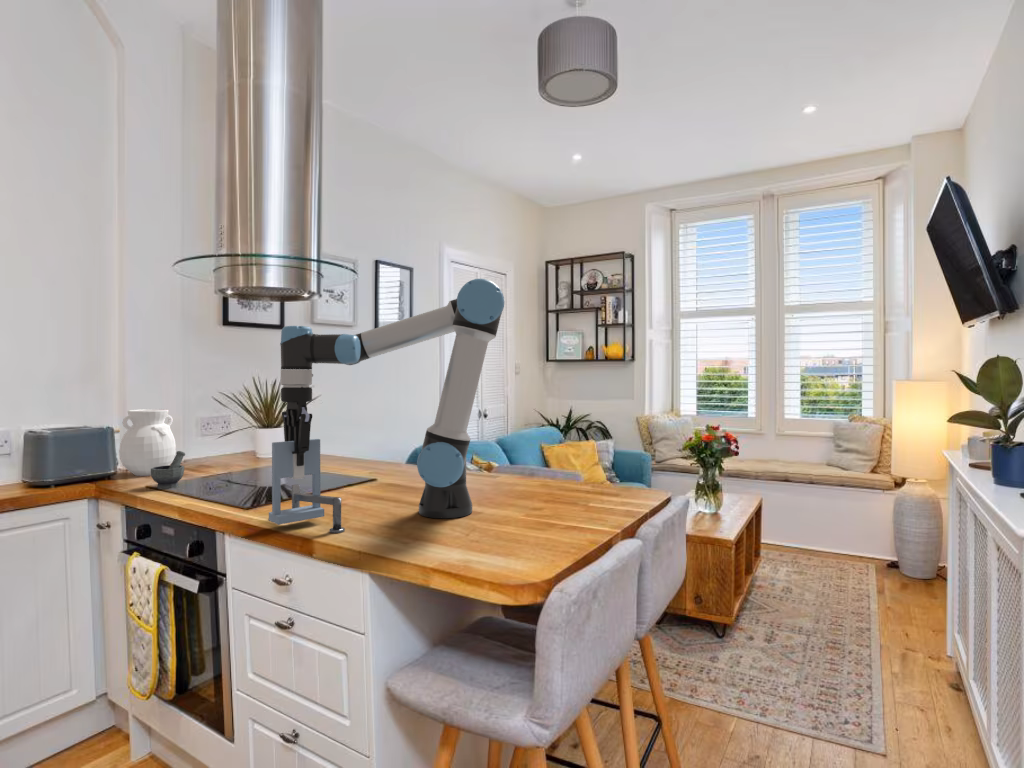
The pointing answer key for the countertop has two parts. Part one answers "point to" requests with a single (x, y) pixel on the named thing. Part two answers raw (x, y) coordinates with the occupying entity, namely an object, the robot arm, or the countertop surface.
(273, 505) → the blue-grey upright frame
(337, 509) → the grey bent bar frame
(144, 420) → the white handled vase
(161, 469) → the mortar and pestle
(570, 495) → the countertop surface
